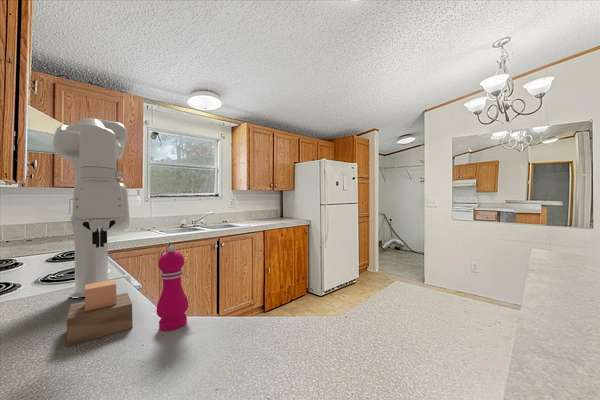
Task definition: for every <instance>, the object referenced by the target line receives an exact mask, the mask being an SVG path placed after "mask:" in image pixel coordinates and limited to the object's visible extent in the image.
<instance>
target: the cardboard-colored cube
mask: <svg viewBox="0 0 600 400" xmlns="http://www.w3.org/2000/svg"><path fill="white" fill-rule="evenodd" d="M116 295H117V282H116V280H115V279H110V280H109V279H108V281H103V282H97V283H92V284H86V285H85V298H84V302H85V311H87V310H92V309H96V308H100V307H105V306H109V305H114V304H116Z"/></svg>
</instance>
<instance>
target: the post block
mask: <svg viewBox="0 0 600 400" xmlns="http://www.w3.org/2000/svg"><path fill="white" fill-rule="evenodd" d="M133 325H134V324H133V302H132V300H131V298H130V296H129V293H128V292H124V293H123V292H122V293H119V294H116V304H114V305H109V306H105V307H100V308H96V309H92V310H87V311H85V301H79V302H75V303H70V305H69V310H68V313H67V316H66V347H70V346H75V345H77V344H81V343H84V342H88V341H91V340H96V339H99V338H102V337H105V336H110V335H112V334H116V333H120V332H123V331H126V330H130V329H133Z"/></svg>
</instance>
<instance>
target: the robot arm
mask: <svg viewBox="0 0 600 400" xmlns="http://www.w3.org/2000/svg"><path fill="white" fill-rule="evenodd" d="M127 141H128V131H127V129H126V127H125V126H124V125H123V124H122V123H120V122H119V121H111V120H106V119H100V118H92V117H84V118H81V119H79V120H78V121H76V124H63V125H59V126H58V127H57V128H56V130H55V132H54V136H53V143H52V145H53V149H54V152H55V153H56V155H57V156H58V157H60V158H63V159H65V160H69V161H70V162H71V165H72V167H73V169H74V173H75V182H74V187H73V193H72V195H73V196H72V214H71V217H70V225H71V229H72V234H73V243H74V290H73V291H71V292H69V296H70V297H85V285H86V284H92V283H97V282H103V281H109V250H108V249H109V248H108V233H116V232H117V233H118V232H123V231H126V230H128V228H129V226H130V209H129V207H130V206H129V195H128V194H129V193H128V190H127V187H126V185H125V184H124V183H122V182H120V181H118V179H121V178H124V173H123V172H120V171H118V170H117V160H119V159H121V158H122V157H123V156H124V153H125V148H126V145H127ZM70 297H69V298H70Z"/></svg>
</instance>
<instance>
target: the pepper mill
mask: <svg viewBox="0 0 600 400" xmlns="http://www.w3.org/2000/svg"><path fill="white" fill-rule="evenodd" d="M166 250H167V252H165V253H163V254H162V255H161V256H160V257H159V259H158V261H157V267H158V269H159V270H160V271H161V272H160V279H161V280H162V291H161V294H160V296H159V299H158V302H157V305H156V311H155V312H156V315H157V316H158V317H159V320H158V328H159V330H160V331H163V332H164V331H165V332H169V331H175V330H178V329H180V328H182V327H184V326H185V325H186V324H187V323H188V317H187V314H186V312H187V311H188V309H189V300H188V297H187V296H186V294H185V292H184V289H183V286H182V276H183V274H184V273H183V272H184V271H183V269H182V268H183V267H184V265H185V257H184V255H183V254H182V253H181V252H178V251H175V250H176V247H175V246H174V245H170V246H168V247H167V248H166Z"/></svg>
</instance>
